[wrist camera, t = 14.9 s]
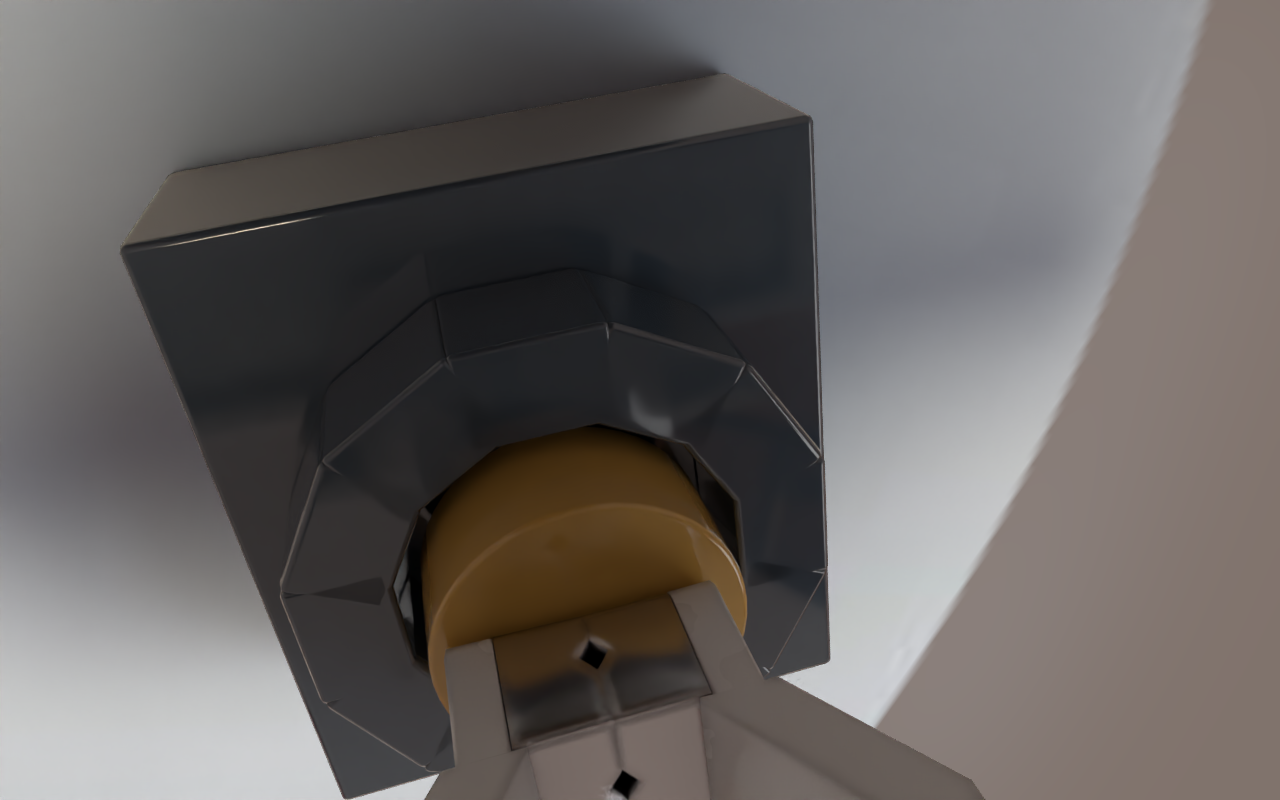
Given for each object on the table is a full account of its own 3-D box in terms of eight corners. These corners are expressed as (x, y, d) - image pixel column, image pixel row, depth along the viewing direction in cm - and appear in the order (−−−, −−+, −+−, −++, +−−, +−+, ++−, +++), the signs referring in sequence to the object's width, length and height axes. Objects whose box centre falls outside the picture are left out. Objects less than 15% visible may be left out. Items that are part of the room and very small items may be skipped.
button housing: (166, 172, 13) (70, 311, 9) (729, 71, 14) (885, 149, 10) (346, 660, 17) (340, 911, 13) (764, 550, 19) (882, 746, 14)
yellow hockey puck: (386, 465, 11) (391, 556, 9) (689, 394, 12) (738, 469, 10) (455, 691, 13) (467, 798, 11) (714, 620, 13) (758, 713, 12)
